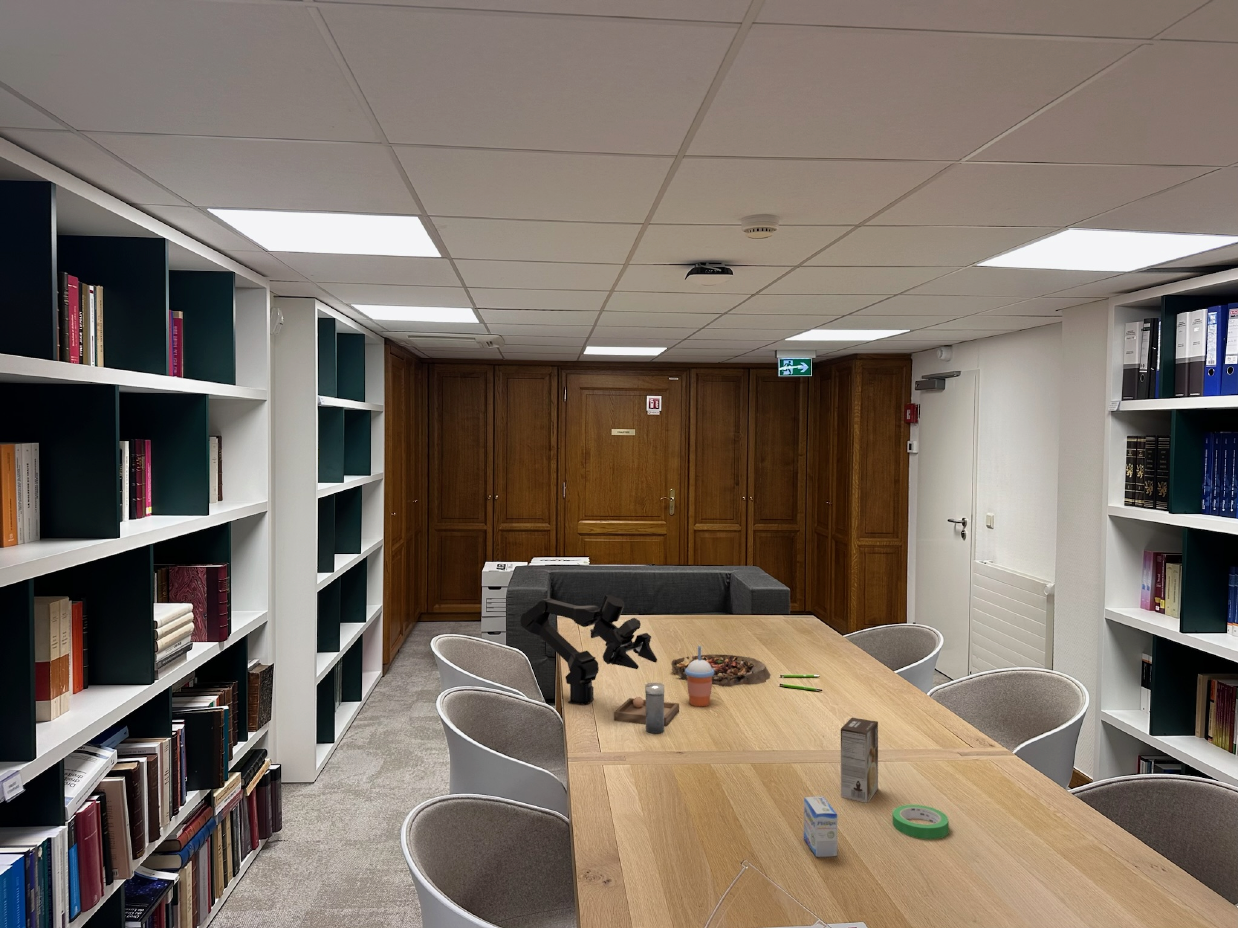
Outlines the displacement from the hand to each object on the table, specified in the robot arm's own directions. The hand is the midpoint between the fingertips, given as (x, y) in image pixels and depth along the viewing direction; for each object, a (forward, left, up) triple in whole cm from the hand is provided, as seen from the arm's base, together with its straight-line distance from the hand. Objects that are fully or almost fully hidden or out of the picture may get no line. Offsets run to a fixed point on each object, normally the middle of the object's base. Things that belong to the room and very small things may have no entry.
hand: (647, 664), depth 239 cm
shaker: (+5, -9, -16) cm, 19 cm away
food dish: (+10, +54, -17) cm, 57 cm away
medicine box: (+56, -62, -16) cm, 86 cm away
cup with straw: (+11, +19, -16) cm, 27 cm away
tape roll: (+75, -46, -17) cm, 90 cm away
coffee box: (+62, -33, -16) cm, 72 cm away
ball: (-5, +6, -13) cm, 15 cm away
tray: (-1, +2, -16) cm, 16 cm away
